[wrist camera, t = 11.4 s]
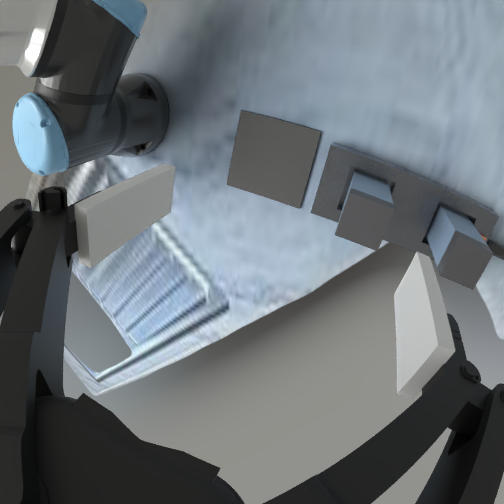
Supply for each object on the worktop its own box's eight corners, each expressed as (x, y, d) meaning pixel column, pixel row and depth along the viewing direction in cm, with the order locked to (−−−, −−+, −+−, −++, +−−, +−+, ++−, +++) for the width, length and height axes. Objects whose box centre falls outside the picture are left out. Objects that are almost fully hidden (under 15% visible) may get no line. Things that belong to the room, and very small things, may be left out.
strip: (314, 206, 46) (309, 214, 43) (333, 142, 41) (330, 145, 38) (491, 278, 40) (497, 290, 37) (519, 224, 34) (528, 234, 31)
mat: (227, 184, 49) (226, 184, 49) (242, 110, 43) (241, 110, 43) (299, 207, 47) (299, 208, 47) (321, 131, 41) (320, 131, 40)
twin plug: (425, 234, 40) (439, 275, 30) (438, 203, 38) (459, 237, 28) (453, 246, 39) (472, 289, 29) (467, 216, 37) (493, 253, 27)
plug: (344, 202, 43) (334, 234, 33) (354, 169, 41) (349, 192, 31) (376, 214, 42) (377, 251, 32) (388, 182, 40) (394, 209, 30)
